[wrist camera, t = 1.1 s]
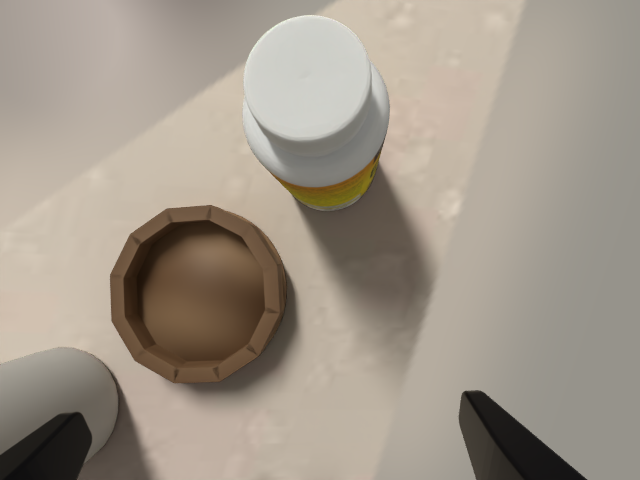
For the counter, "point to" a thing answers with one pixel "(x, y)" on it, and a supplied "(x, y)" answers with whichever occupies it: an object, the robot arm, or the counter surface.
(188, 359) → the walnut tray
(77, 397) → the cup
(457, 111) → the counter surface
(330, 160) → the supplement bottle
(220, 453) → the counter surface
